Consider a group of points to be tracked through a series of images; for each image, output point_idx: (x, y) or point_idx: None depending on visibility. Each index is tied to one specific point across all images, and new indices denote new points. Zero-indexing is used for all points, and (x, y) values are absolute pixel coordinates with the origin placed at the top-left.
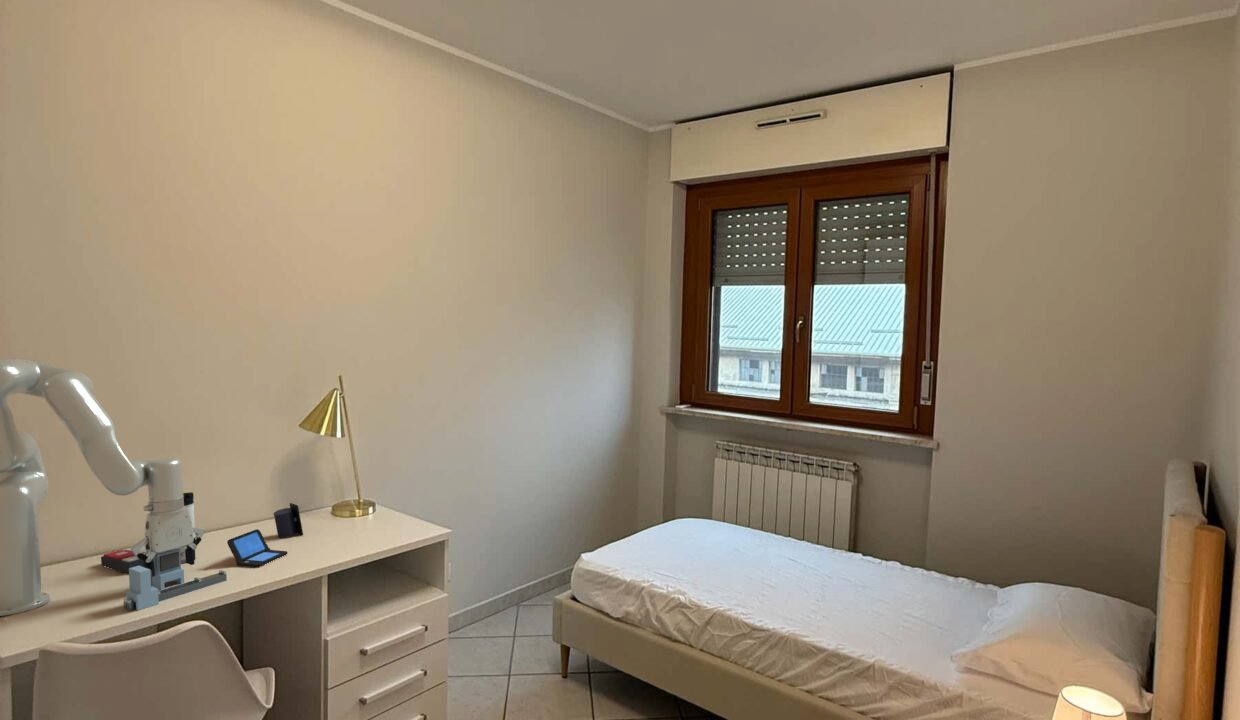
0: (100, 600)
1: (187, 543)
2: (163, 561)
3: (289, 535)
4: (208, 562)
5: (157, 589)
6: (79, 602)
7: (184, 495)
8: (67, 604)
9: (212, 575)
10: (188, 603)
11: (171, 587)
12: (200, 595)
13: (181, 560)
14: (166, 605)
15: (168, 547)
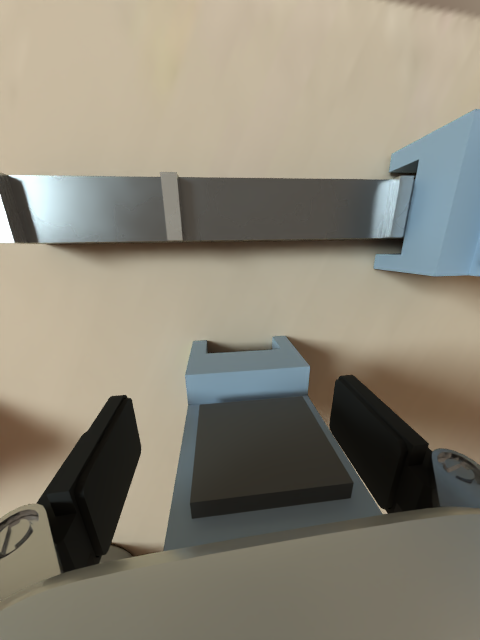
0: (424, 403)
1: (55, 612)
2: (312, 444)
3: None
4: (28, 503)
5: (476, 109)
6: (453, 431)
7: None
8: (472, 439)
9: (75, 229)
10: (317, 5)
11: (309, 232)
12: (219, 82)
13: (107, 560)
14: (379, 107)
15: (407, 578)
